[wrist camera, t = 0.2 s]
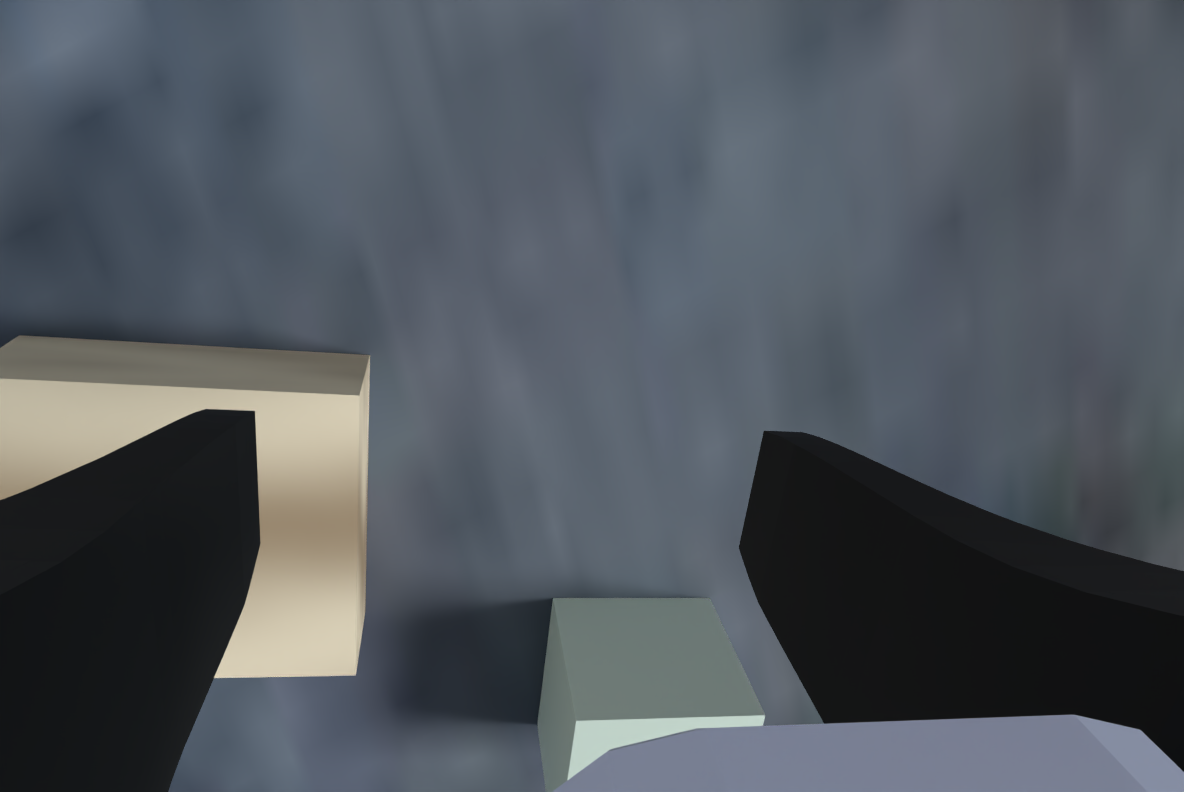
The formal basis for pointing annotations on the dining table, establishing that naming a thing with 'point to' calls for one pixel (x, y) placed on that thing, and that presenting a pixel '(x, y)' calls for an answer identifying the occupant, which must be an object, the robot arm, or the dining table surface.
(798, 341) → the dining table surface
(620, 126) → the dining table surface
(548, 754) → the cube
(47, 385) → the pedestal
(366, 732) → the dining table surface
